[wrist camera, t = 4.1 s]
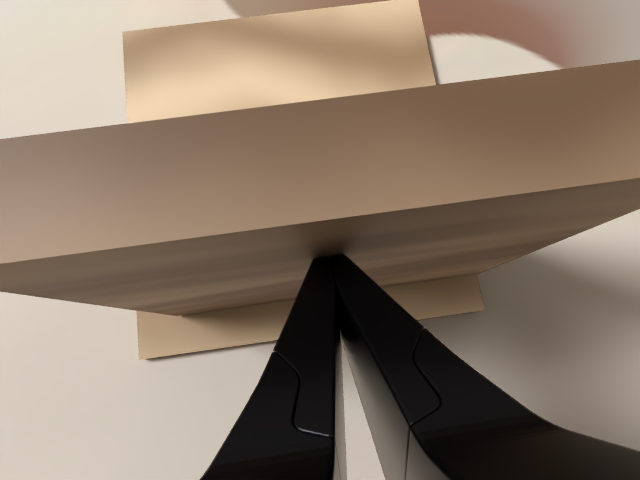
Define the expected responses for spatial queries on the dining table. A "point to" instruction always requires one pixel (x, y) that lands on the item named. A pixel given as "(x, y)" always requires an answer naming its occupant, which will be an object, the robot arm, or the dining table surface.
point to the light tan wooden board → (274, 89)
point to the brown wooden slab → (318, 190)
